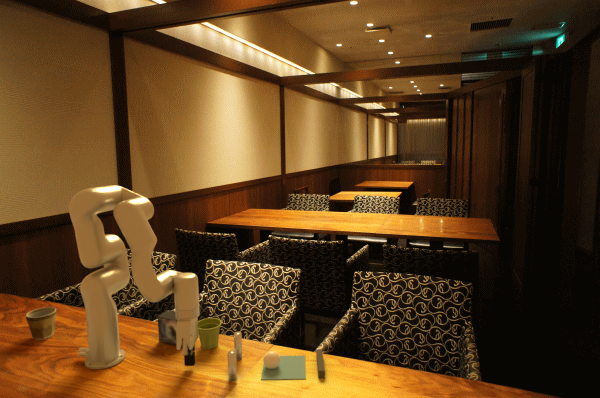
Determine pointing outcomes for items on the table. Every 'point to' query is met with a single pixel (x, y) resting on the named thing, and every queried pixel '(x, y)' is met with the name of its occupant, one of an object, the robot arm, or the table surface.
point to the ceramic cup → (41, 322)
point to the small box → (167, 327)
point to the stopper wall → (320, 364)
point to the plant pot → (209, 332)
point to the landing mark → (286, 369)
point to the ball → (271, 359)
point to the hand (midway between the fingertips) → (190, 364)
